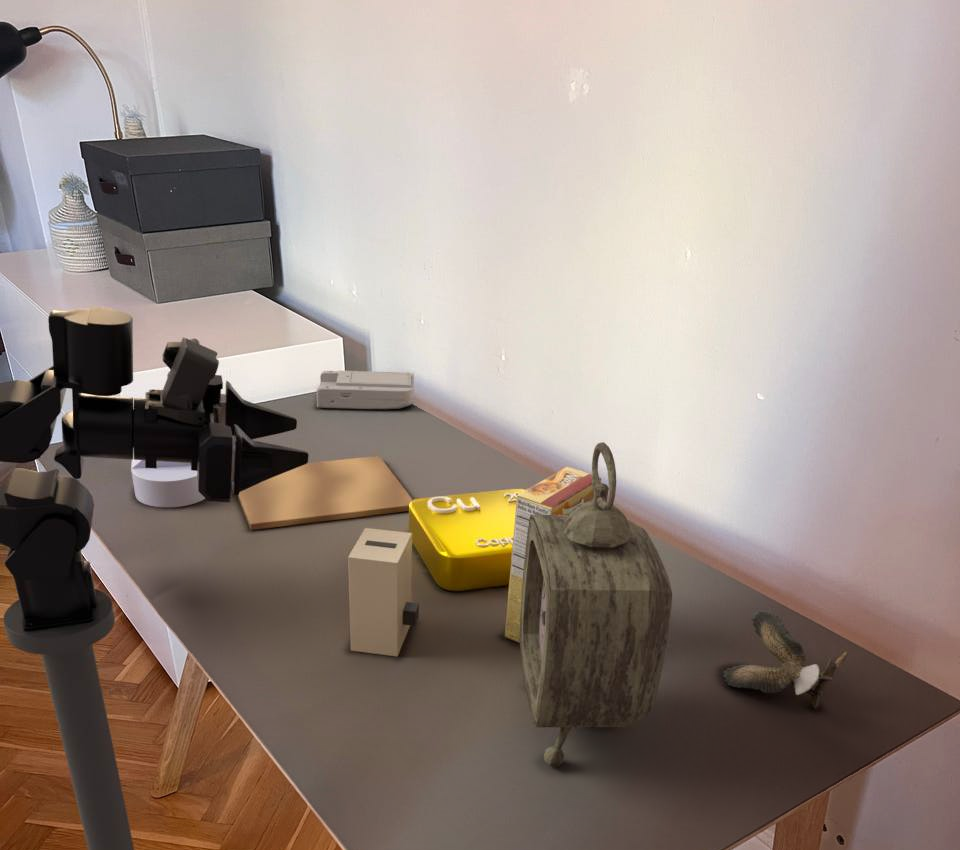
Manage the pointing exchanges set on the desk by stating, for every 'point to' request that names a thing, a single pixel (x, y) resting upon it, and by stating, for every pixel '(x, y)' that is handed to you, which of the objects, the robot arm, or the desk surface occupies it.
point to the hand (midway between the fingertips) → (302, 440)
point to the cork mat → (324, 493)
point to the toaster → (381, 591)
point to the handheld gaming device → (365, 390)
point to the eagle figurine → (791, 660)
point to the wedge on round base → (165, 484)
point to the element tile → (465, 537)
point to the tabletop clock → (592, 616)
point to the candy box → (541, 499)
